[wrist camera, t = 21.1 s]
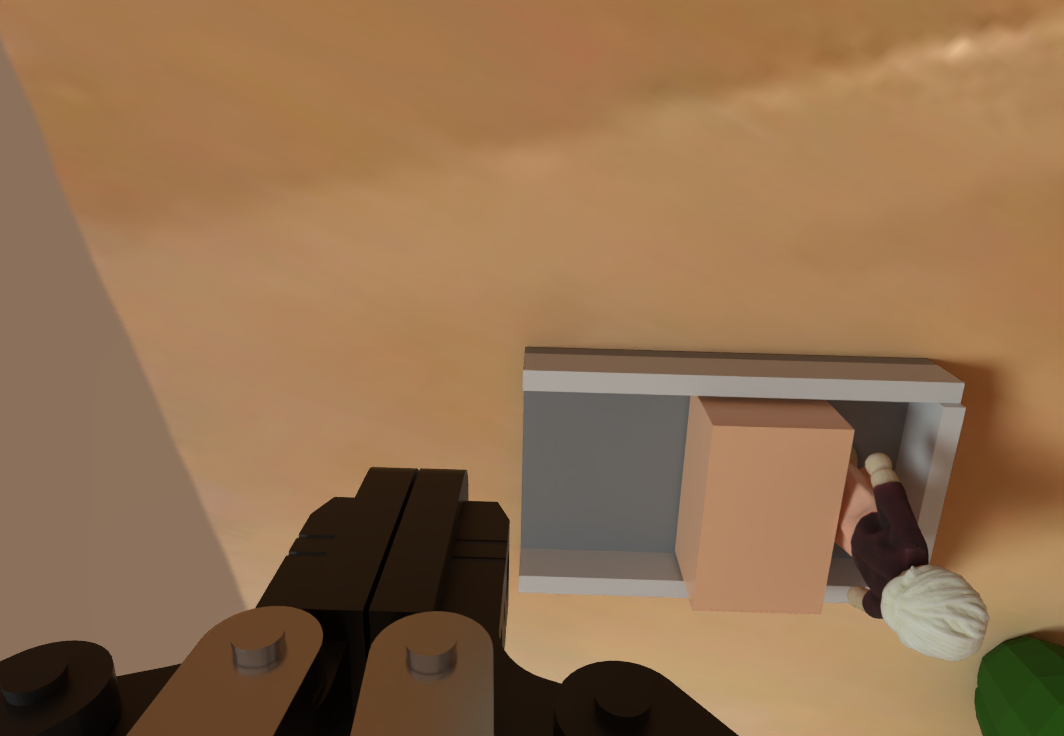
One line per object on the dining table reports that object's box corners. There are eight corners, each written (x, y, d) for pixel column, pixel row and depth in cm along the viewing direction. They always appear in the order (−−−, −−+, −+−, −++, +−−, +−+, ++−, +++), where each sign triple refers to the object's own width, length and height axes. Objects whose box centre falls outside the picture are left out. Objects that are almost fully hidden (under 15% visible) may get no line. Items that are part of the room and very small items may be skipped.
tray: (927, 358, 37) (971, 387, 33) (884, 565, 41) (918, 611, 37) (525, 347, 37) (522, 374, 33) (520, 553, 41) (518, 598, 37)
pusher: (814, 388, 36) (854, 429, 31) (788, 553, 39) (821, 614, 34) (691, 384, 36) (712, 425, 31) (675, 550, 39) (691, 610, 35)
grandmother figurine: (874, 528, 39) (1020, 714, 27) (801, 542, 39) (912, 733, 27) (859, 395, 36) (1012, 535, 24) (781, 412, 37) (893, 558, 25)
